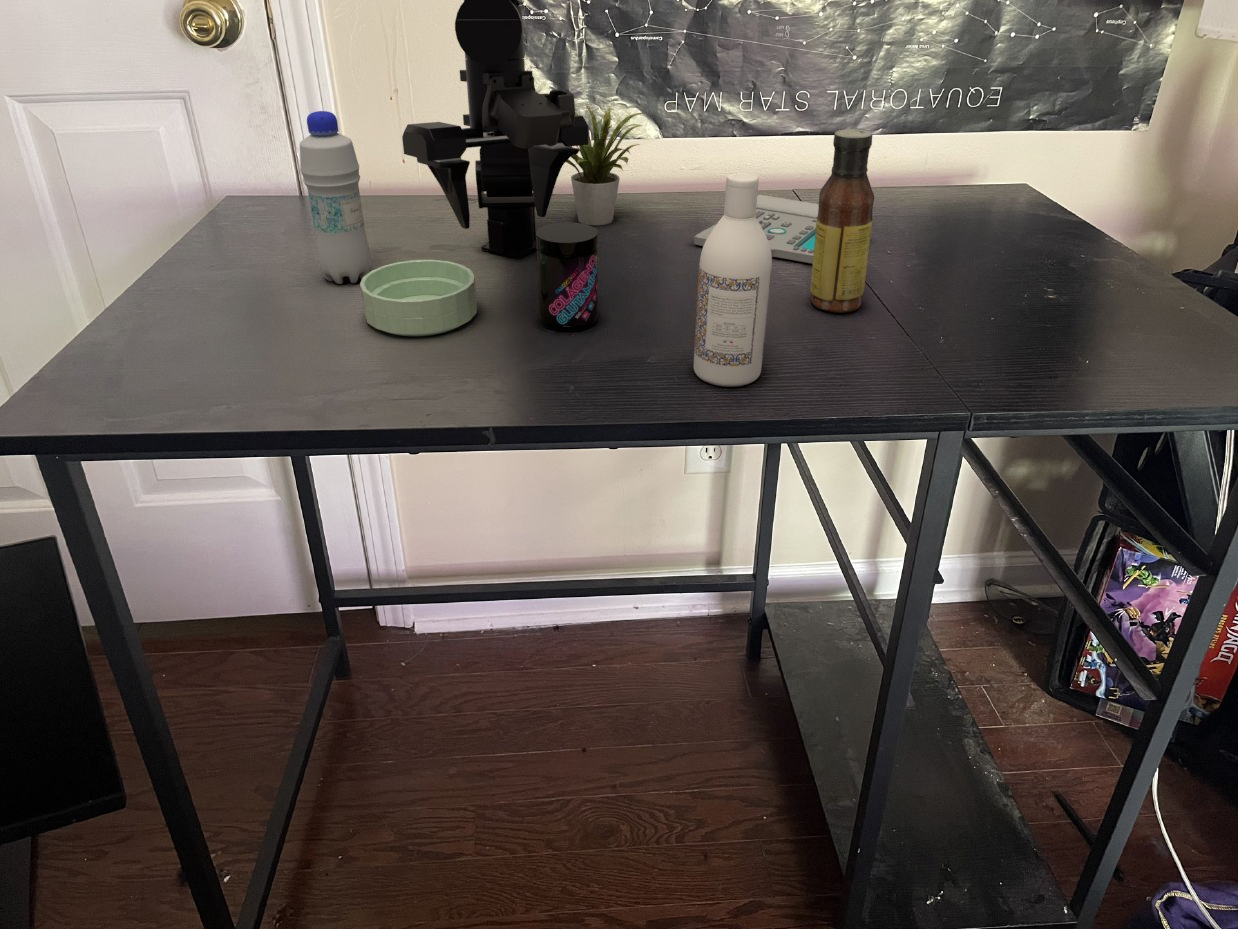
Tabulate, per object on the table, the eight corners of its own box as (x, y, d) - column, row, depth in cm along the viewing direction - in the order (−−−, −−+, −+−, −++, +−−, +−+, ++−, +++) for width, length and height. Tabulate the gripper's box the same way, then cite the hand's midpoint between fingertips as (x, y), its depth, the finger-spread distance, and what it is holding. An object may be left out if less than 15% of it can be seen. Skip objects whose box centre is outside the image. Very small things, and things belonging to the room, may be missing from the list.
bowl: (418, 287, 111) (414, 252, 109) (499, 309, 106) (496, 273, 103) (342, 323, 102) (336, 285, 100) (426, 349, 97) (422, 310, 94)
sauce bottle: (864, 298, 110) (892, 128, 99) (858, 318, 105) (887, 141, 94) (810, 291, 111) (832, 123, 100) (801, 310, 106) (823, 136, 96)
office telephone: (759, 187, 140) (886, 207, 132) (757, 204, 142) (883, 225, 133) (694, 226, 123) (835, 252, 115) (693, 245, 125) (832, 272, 116)
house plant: (669, 216, 136) (674, 101, 127) (620, 242, 126) (621, 119, 117) (590, 200, 142) (589, 90, 133) (538, 223, 132) (533, 106, 123)
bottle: (361, 289, 111) (334, 119, 100) (310, 285, 112) (278, 115, 101) (383, 270, 116) (360, 106, 105) (335, 266, 117) (307, 103, 106)
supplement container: (535, 332, 101) (531, 241, 95) (543, 308, 106) (540, 221, 101) (595, 334, 100) (595, 243, 95) (600, 310, 106) (600, 223, 100)
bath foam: (718, 352, 97) (732, 162, 86) (773, 371, 93) (795, 175, 82) (679, 374, 92) (689, 177, 81) (735, 396, 89) (754, 192, 78)
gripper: (447, 67, 77) (462, 250, 84) (621, 59, 87) (621, 223, 94) (391, 61, 84) (409, 229, 92) (557, 54, 95) (561, 206, 102)
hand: (504, 222), depth 94 cm, fingers open, 9 cm apart
